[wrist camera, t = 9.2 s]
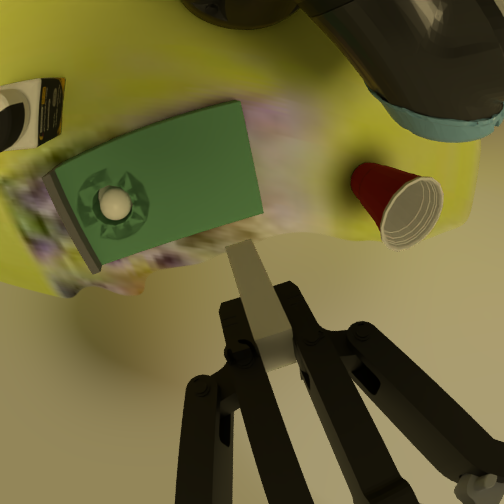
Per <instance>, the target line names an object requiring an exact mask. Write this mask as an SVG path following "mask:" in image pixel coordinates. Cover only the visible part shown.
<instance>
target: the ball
mask: <svg viewBox="0 0 504 504" xmlns="http://www.w3.org/2000/svg"><path fill="white" fill-rule="evenodd" d="M131 207H132V201H131V198H130V196H129V194H128V193H127V192H126V191H124V190H123V189H122V188H121V187H117V186H115V187H111V188H109V189H107V190H106V191H105V192H104V193H103V195H102V197H101V200H100V209H101V211H102V213H103V215H104V216H105V217H107V218H108V219H111V220H120V219H122V218H124V217H125V216H127V215H128V213H129V212H130V210H131Z"/></svg>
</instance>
